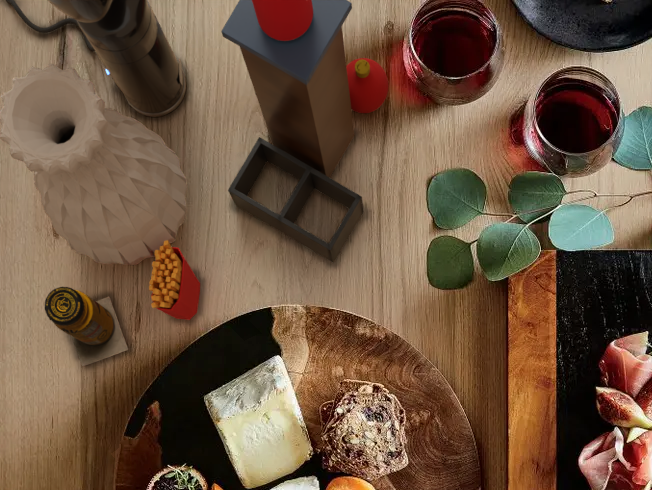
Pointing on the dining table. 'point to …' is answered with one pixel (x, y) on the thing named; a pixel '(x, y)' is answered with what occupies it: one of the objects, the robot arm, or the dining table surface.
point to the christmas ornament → (366, 85)
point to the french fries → (174, 284)
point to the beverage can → (284, 17)
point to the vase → (94, 167)
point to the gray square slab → (293, 54)
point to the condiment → (86, 323)
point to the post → (307, 108)
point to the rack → (295, 198)
